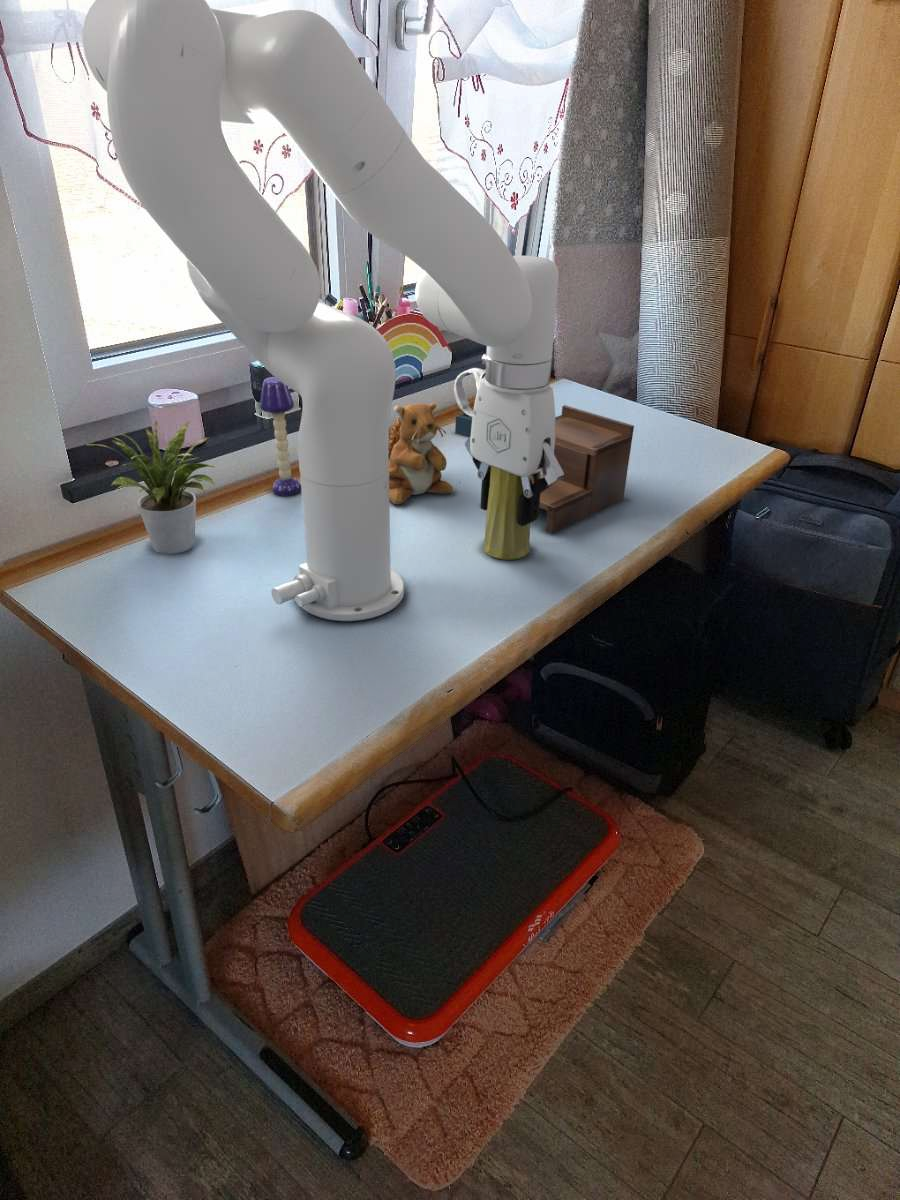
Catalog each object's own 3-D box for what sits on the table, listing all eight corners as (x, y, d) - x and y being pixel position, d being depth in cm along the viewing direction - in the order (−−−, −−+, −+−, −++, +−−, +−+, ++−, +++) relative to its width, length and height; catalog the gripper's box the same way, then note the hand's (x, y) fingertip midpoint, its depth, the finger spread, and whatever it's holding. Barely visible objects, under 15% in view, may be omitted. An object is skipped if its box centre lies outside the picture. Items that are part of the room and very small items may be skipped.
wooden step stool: (551, 534, 110) (559, 454, 104) (484, 506, 117) (488, 430, 112) (623, 499, 120) (634, 425, 115) (557, 475, 128) (564, 405, 122)
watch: (485, 440, 141) (488, 377, 135) (446, 431, 144) (448, 369, 139) (501, 432, 145) (505, 370, 139) (463, 423, 148) (465, 362, 143)
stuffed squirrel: (395, 508, 116) (394, 419, 109) (363, 473, 127) (360, 390, 120) (458, 498, 119) (461, 411, 113) (422, 464, 130) (422, 383, 124)
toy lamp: (294, 498, 118) (284, 385, 109) (263, 495, 119) (252, 382, 110) (305, 486, 122) (297, 375, 113) (276, 482, 123) (265, 372, 114)
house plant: (120, 585, 96) (92, 454, 87) (95, 539, 106) (68, 417, 97) (238, 557, 102) (222, 433, 94) (203, 516, 112) (186, 400, 104)
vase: (499, 534, 109) (505, 433, 102) (538, 548, 106) (548, 444, 99) (473, 551, 105) (478, 446, 98) (513, 565, 102) (521, 458, 95)
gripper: (442, 363, 97) (440, 502, 106) (556, 395, 86) (542, 546, 96) (485, 352, 101) (479, 486, 111) (597, 382, 91) (580, 527, 100)
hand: (508, 513), depth 103 cm, fingers closed on vase, 5 cm apart
